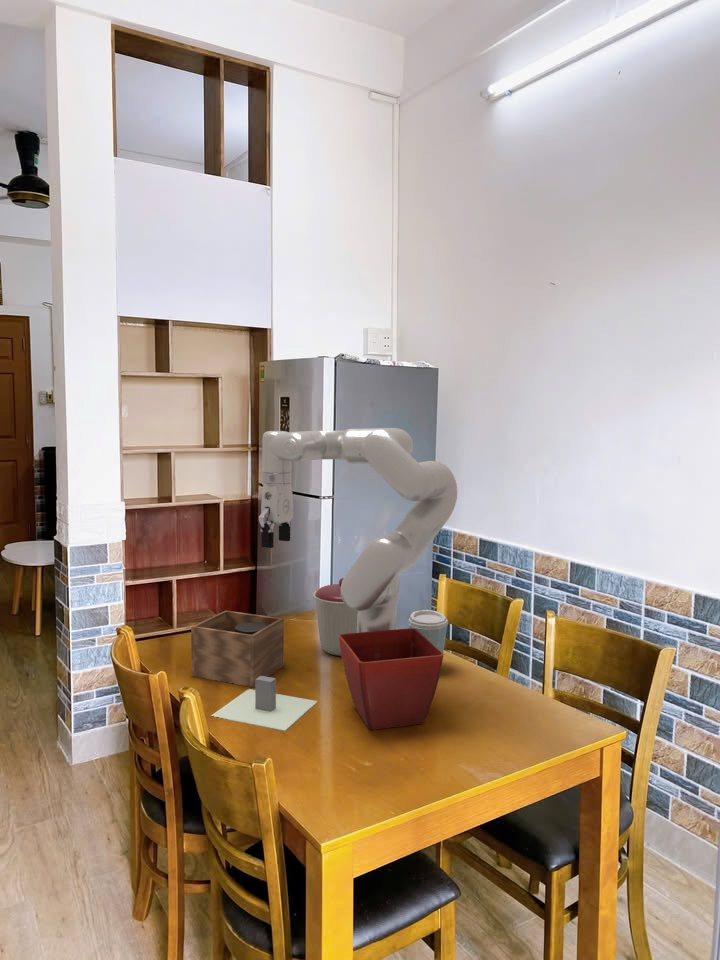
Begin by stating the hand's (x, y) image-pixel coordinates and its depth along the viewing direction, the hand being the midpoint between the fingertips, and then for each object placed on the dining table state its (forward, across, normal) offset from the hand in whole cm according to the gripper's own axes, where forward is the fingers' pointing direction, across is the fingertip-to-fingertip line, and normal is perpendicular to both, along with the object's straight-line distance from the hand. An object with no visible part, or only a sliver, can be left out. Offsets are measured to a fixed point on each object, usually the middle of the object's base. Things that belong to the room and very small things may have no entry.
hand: (276, 543), depth 189 cm
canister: (+33, +19, -12) cm, 40 cm away
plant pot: (+33, -17, -37) cm, 53 cm away
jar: (+34, -5, +4) cm, 34 cm away
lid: (+34, -24, -10) cm, 43 cm away
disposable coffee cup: (+33, +14, -38) cm, 52 cm away
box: (+33, -6, +7) cm, 35 cm away
